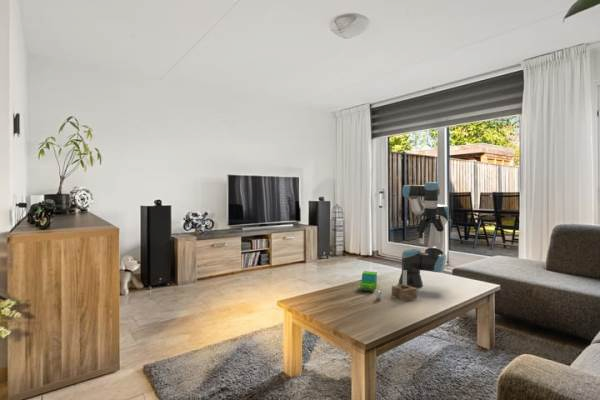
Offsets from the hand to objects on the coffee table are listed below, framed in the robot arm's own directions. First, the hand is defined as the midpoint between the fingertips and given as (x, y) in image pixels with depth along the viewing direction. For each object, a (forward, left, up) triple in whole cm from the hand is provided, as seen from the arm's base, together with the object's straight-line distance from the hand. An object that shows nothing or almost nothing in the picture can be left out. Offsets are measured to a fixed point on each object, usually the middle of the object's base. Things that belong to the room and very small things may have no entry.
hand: (430, 242), depth 204 cm
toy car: (-24, -27, -32) cm, 48 cm away
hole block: (-3, -17, -32) cm, 36 cm away
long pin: (-3, -17, -32) cm, 36 cm away
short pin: (-6, -34, -32) cm, 47 cm away
